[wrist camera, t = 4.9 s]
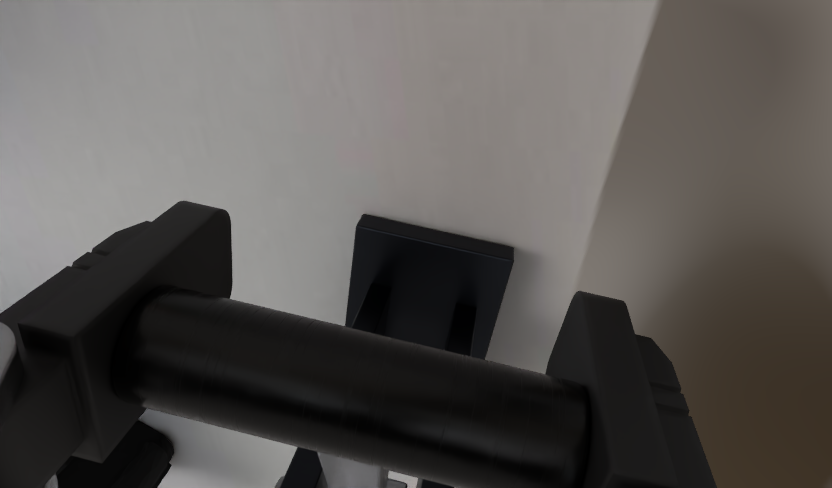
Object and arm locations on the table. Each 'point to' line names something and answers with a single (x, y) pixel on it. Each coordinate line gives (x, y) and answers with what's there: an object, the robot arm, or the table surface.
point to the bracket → (417, 301)
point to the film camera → (122, 463)
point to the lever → (352, 395)
